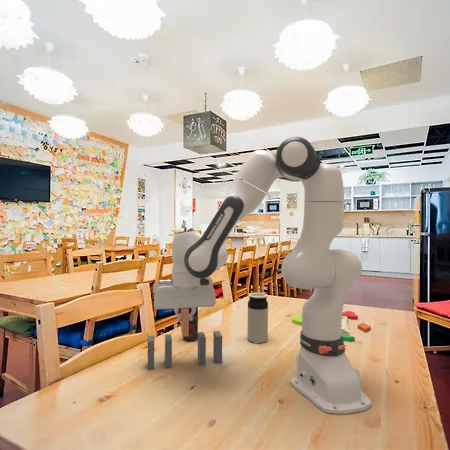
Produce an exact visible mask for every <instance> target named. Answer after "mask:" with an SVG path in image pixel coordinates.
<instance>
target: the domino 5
mask: <svg viewBox="0 0 450 450" xmlns="http://www.w3.org/2000/svg"><path fill="white" fill-rule="evenodd" d="M212 348H213V349H212V350H213V352H212V353H213V355H212V356H213V359H214V362H215V364H222V363H223V335H222V333H221V332H220V330H213V347H212Z"/></svg>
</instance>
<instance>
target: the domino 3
mask: <svg viewBox="0 0 450 450" xmlns="http://www.w3.org/2000/svg"><path fill="white" fill-rule="evenodd" d="M180 310H181V311H180V312H181V314H180V315H182V321H180V331H181V336H182V338H183V336H189V308H180Z"/></svg>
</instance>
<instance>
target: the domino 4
mask: <svg viewBox="0 0 450 450" xmlns="http://www.w3.org/2000/svg"><path fill="white" fill-rule="evenodd" d="M206 350H207V337H206V334H205V333H204V331H198V340H197V362H198V363H199V366H206V364H207V363H206V361H207V360H206V359H207V355H206V354H207V351H206Z"/></svg>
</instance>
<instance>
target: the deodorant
mask: <svg viewBox="0 0 450 450" xmlns="http://www.w3.org/2000/svg"><path fill="white" fill-rule="evenodd" d="M191 312H192V309H191V308H189V314H190V313H191ZM198 332H199V307H196V312H195V313H194V315H193V321H189V336H183V337H182V341H183V342H186V343H193V342H194V343H195V342H196V341H197V342H198Z"/></svg>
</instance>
